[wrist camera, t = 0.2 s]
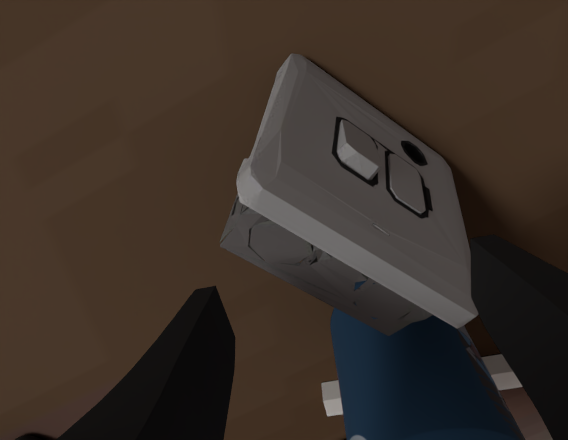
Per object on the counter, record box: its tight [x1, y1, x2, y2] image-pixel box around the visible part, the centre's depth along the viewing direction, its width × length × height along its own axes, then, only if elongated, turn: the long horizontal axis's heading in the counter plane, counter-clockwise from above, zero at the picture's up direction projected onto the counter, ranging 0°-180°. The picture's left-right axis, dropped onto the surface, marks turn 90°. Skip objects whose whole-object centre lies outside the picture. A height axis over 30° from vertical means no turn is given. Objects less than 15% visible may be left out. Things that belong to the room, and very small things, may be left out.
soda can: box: [331, 280, 525, 440], centre depth 20 cm, size 7×7×12 cm
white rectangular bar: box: [321, 354, 523, 416], centre depth 26 cm, size 3×23×3 cm, turn 103°
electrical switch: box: [219, 54, 478, 336], centre depth 17 cm, size 9×5×9 cm, turn 56°
